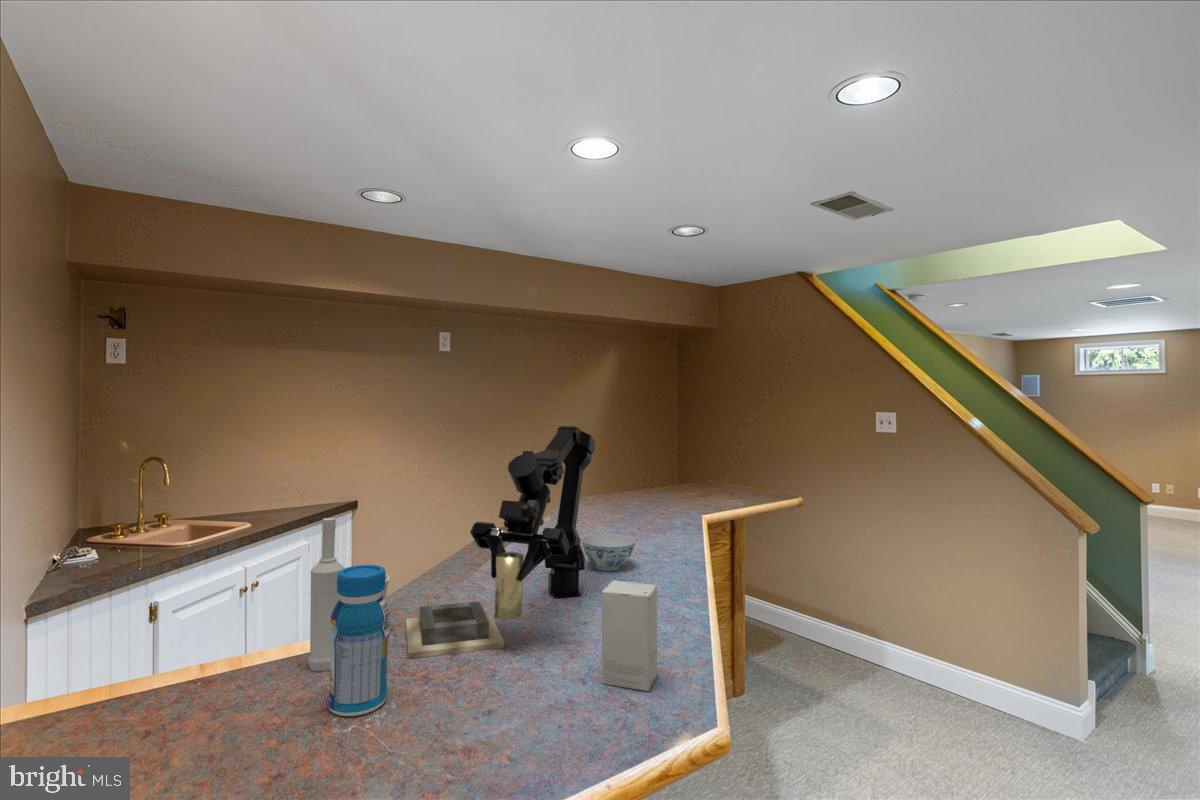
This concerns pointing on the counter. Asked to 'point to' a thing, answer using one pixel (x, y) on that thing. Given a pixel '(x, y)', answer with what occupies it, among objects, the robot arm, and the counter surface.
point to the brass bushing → (508, 586)
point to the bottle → (323, 599)
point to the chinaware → (608, 550)
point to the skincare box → (629, 635)
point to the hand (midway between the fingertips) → (506, 578)
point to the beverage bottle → (359, 642)
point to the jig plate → (450, 646)
